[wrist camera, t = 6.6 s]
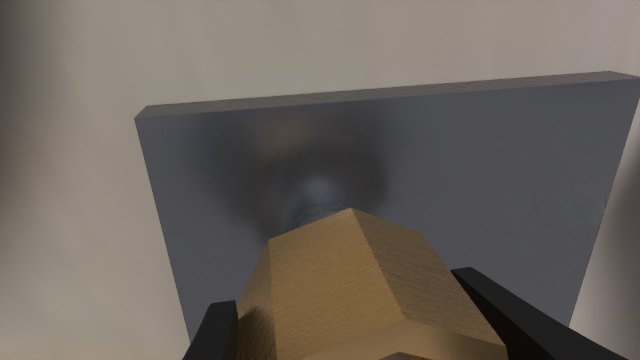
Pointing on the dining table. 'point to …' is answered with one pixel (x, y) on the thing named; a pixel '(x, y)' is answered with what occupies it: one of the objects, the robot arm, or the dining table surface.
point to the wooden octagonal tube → (358, 297)
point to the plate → (395, 177)
